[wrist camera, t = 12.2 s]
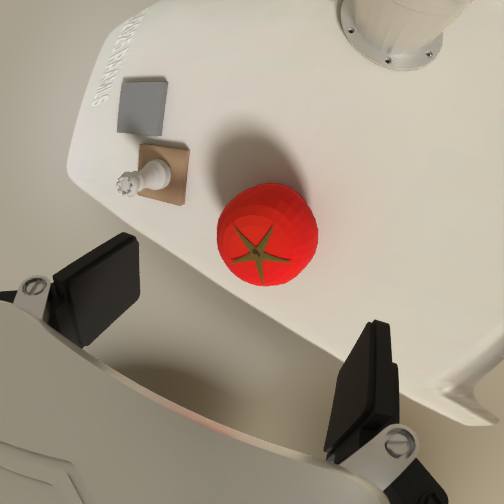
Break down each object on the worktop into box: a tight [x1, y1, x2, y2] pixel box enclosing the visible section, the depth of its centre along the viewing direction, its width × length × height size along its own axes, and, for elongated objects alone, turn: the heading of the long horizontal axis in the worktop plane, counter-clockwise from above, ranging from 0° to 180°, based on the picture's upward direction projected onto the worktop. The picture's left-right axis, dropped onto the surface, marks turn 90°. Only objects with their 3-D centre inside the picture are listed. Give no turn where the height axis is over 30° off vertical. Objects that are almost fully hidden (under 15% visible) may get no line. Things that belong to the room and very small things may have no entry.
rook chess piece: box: [117, 159, 171, 197], centre depth 36 cm, size 4×4×8 cm
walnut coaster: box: [137, 144, 190, 206], centre depth 40 cm, size 8×8×1 cm
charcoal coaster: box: [117, 82, 168, 136], centre depth 37 cm, size 8×8×1 cm
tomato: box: [217, 183, 318, 286], centre depth 34 cm, size 12×12×10 cm
